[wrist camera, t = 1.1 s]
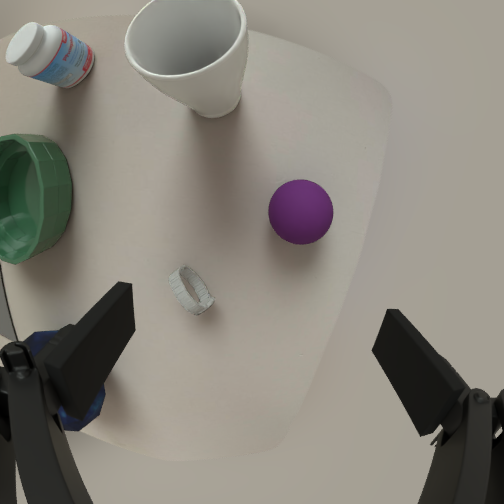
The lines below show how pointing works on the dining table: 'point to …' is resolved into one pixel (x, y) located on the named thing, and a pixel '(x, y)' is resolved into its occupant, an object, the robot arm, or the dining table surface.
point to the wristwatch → (185, 296)
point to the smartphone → (5, 315)
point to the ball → (300, 212)
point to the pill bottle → (50, 55)
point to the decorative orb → (69, 423)
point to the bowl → (32, 196)
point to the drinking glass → (191, 51)
